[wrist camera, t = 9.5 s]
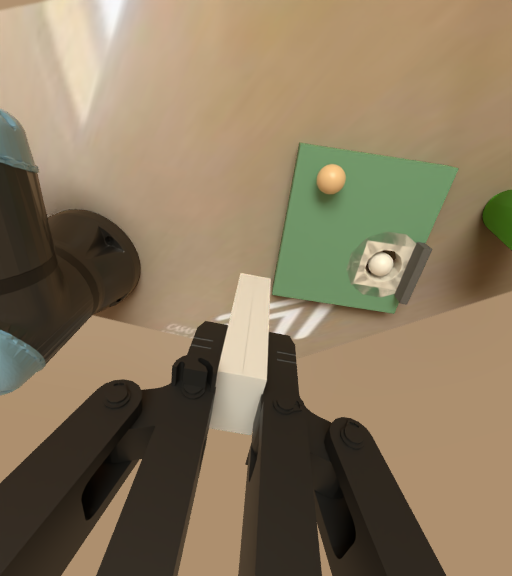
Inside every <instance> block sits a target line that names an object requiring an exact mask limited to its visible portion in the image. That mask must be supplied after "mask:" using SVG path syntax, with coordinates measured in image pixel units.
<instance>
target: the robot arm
mask: <svg viewBox="0 0 512 576" xmlns="http://www.w3.org/2000/svg"><path fill="white" fill-rule="evenodd" d="M37 173H39V169H38V167H37V166H36V165H35V163H34V160H33V157H32V154H31V150H30V147H29V144H28V141H27V137H26V134H25V131H24V129H23V127H22V125H21V124H20V123H19V121H18V120H17V119H16V118H15V117H13V116H12V115H11V114H10V113H8V112H6V111H4V110H2V109H0V395H4V394H7V393H10V392H12V391H14V390H16V389H17V388H19V387H20V386H22V385H23V384H24V383H25V382H26V381H27V380H28V379H29V378H30V377H32V376H33V375H34V374H35V373H36V372H38V371H40V370H42V369H43V368H44V367H45V365H46V363H47V362H48V361H49V360H50V359H51V358H52V357H53V356H54V355H55V354H56V353H57V352H58V350H60V348H62V346H63V345H64V344H65V343H66V342H67V341H68V340H69V339H70V338H71V337H72V336H73V335H74V334H75V333H76V332H77V331H78V330H79V329H80V327H81V326H82V325H83V324H84V323H85V322H86V321H87V320H88V319H89V318H90V317H91V316H92V315H93V314H95V313H97V312H100V311H102V310H104V309H107V308H108V307H111V306H114V305H116V304H118V303H120V302H121V301H123V300H124V299H125V298H126V297H127V296H128V295H129V294H130V293H131V292H132V291H133V289H134V288H135V287H136V285H137V283H138V280H139V277H140V262H139V257H138V254H137V252H136V249H135V247H134V245H133V244H132V242H131V241H130V239H129V238H128V236H127V235H126V234H125V233H124V232H123V231H122V230H121V229H120V228H119V227H118V226H117V225H115V224H114V223H113V222H111V221H110V220H108V219H107V218H105V217H103V216H101V215H99V214H96V213H93V212H90V211H86V210H76V209H75V210H66V211H63V212H60V213H57V214H55V215H53V216H50V217H48V218H47V214H46V210H45V206H44V201H43V197H42V192H41V188H40V183H39V179H38V174H37ZM270 282H271V279H270V278H264V277H259V276H254V275H249V274H243V273H241V274H240V278H239V282H238V287H237V291H236V295H235V299H234V303H233V308H232V312H231V316H230V320H229V325H224V324H218V323H213V322H208V321H205V322H204V323H203V324H201V325H200V326H199V327H198V328H197V330H196V333H195V336H194V338H193V341H192V344H191V346H190V349H189V352H188V354H187V355H186V356H183V357H181V358H179V359H178V360H176V362H175V363H174V365H173V366H172V382H171V383H170V384H169V385H166V386H164V387H161V388H156V389H146V390H141V389H140V387H139V385H137V384H136V383H134V382H133V381H129V380H114V381H111V382H109V383H106V384H104V385H103V386H101V387H100V388H99V389H97V390H96V391H95V392H94V393H93V394H92V395H91V396H90V397H89V398H88V399H87V400H86V401H85V402H84V403H83V404H82V405H81V406H80V407H79V408H78V409H77V410H75V412H73V413H72V414H71V415H70V416H69V417H68V418H67V419H66V420H65V421H64V422H63V423H62V424H61V425H60V426H59V427H58V428H57V429H56V430H55V431H54V432H53V433H52V434H51V435H50V436H49V437H48V438H47V439H46V440H44V442H42V443H41V444H40V446H38V447H37V448H36V449H35V450H34V451H33V452H32V453H31V454H30V455H29V456H28V457H27V458H26V459H25V460H24V461H23V462H22V463H21V464H20V465H19V466H18V467H17V468H16V469H15V470H14V471H13V472H12V473H10V474H9V476H7V477H6V478H5V479H4V480H3V481H2V482H1V483H0V576H61V575H62V573H63V572H64V570H65V569H66V567H67V566H68V564H69V563H70V561H71V560H72V558H73V557H74V555H75V554H76V552H77V551H78V550H79V548H80V547H81V545H82V543H83V542H84V541H85V539H86V538H87V536H88V535H89V533H90V532H91V530H92V529H93V527H94V526H95V524H96V523H97V521H98V520H99V518H100V517H101V516H102V514H103V513H104V511H105V510H106V508H107V507H108V505H109V504H110V502H111V500H112V499H113V498H114V496H115V494H116V493H117V492H118V490H119V489H120V487H121V486H122V484H123V483H124V482H125V480H126V478H127V477H128V475H129V474H130V473H131V471H132V470H133V468H134V467H135V465H136V464H137V462H138V461H139V459H142V461H141V464H140V466H139V469H138V471H137V474H136V477H135V479H134V481H133V484H132V487H131V489H130V492H129V494H128V497H127V499H126V502H125V504H124V507H123V509H122V512H121V514H120V517H119V520H118V522H117V524H116V527H115V530H114V532H113V535H112V537H111V540H110V542H109V545H108V547H107V550H106V553H105V555H104V557H103V560H102V563H101V565H100V568H99V570H98V573H97V575H96V576H177V575H178V570H179V566H180V561H181V557H182V552H183V547H184V543H185V538H186V534H187V529H188V524H189V520H190V514H191V510H192V506H193V501H194V497H195V492H196V487H197V482H198V478H199V473H200V469H201V464H202V460H203V455H204V450H205V446H206V440H207V434H208V430H209V428H212V429H218V430H224V431H229V432H235V433H241V434H247V435H251V434H252V430H253V434H252V443H251V447H250V450H249V453H248V457H247V460H246V465H248V471H247V481H246V493H245V505H244V516H243V528H242V539H241V551H240V563H239V574H238V576H322V572H321V562H320V553H319V541H318V531H317V524H318V528H319V531H320V534H321V538H322V542H323V545H324V549H325V552H326V555H327V559H328V562H329V566H330V569H331V572H332V576H446V574H445V572H444V571H443V569H442V567H441V565H440V563H439V561H438V559H437V557H436V555H435V553H434V552H433V550H432V548H431V546H430V544H429V542H428V540H427V539H426V537H425V535H424V533H423V531H422V529H421V527H420V525H419V523H418V522H417V520H416V518H415V516H414V514H413V512H412V510H411V509H410V507H409V505H408V503H407V501H406V499H405V498H404V495H403V493H402V492H401V490H400V488H399V486H398V484H397V482H396V480H395V478H394V477H393V475H392V473H391V471H390V469H389V467H388V465H387V463H386V462H385V460H384V458H383V456H382V455H381V453H380V450H379V448H378V447H377V445H376V443H375V441H374V439H373V437H372V436H371V434H370V433H369V431H368V430H367V429H366V428H365V427H364V426H363V425H362V424H360V423H359V422H357V421H355V420H353V419H351V418H345V417H341V418H338V419H335V420H334V421H333V422H332V423H331V422H329V421H327V420H325V419H323V418H320V417H318V416H317V415H315V414H313V413H312V412H310V411H309V410H308V409H307V408H306V407H305V405H304V403H303V401H302V400H301V398H300V396H299V388H298V376H297V365H296V356H295V355H296V352H295V344H294V343H293V341H292V339H291V338H290V336H288V335H282V334H277V333H271V332H269V308H270Z"/></svg>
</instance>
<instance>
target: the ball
mask: <svg viewBox="0 0 512 576" xmlns="http://www.w3.org/2000/svg"><path fill="white" fill-rule="evenodd" d="M368 267H369V270H370V271H371V272H372V273H373V274H375V275H378V276H383V275H386V274H388V273H389V272H390V271H391V270H392V268H393V259H392V258H391V256H390V255H388V254H387V253H383V252H379V253H376V254H374V255H373V256H372V257H371V258H370V259H369V262H368Z"/></svg>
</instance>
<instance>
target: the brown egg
mask: <svg viewBox="0 0 512 576" xmlns="http://www.w3.org/2000/svg"><path fill="white" fill-rule="evenodd" d="M345 181H346V175H345V172H344V170H343V169H342V168H341V167H340V166H338V165H335V164H329V165H326V166H324V167H323V168H322V169H321V170H320V171H319V173H318V175H317V186H318V188H319V189H320V190H321V191H322V192H323V193H325V194H335V193H337V192H339V191H340V190H341V189H342V188H343V186H344V184H345Z"/></svg>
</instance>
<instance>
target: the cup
mask: <svg viewBox="0 0 512 576" xmlns="http://www.w3.org/2000/svg"><path fill="white" fill-rule="evenodd" d="M483 222H484V224H485V226H486V227H487V228H488V229H489V230H490V231H491V232H492V233H493V234H495V235H496V236H497V237H498V238H499V239H500V240H501V241H502V242H503V243H504V244H505V245H506V246H507V247H509V248H510V249H511V250H512V190H507V191H504V192H502V193H499V194H497V195H496V196H494V197H493V198H492V199H491V200H490V201H489V202H488V203H487V205H486V206H485V208H484V211H483Z"/></svg>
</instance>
